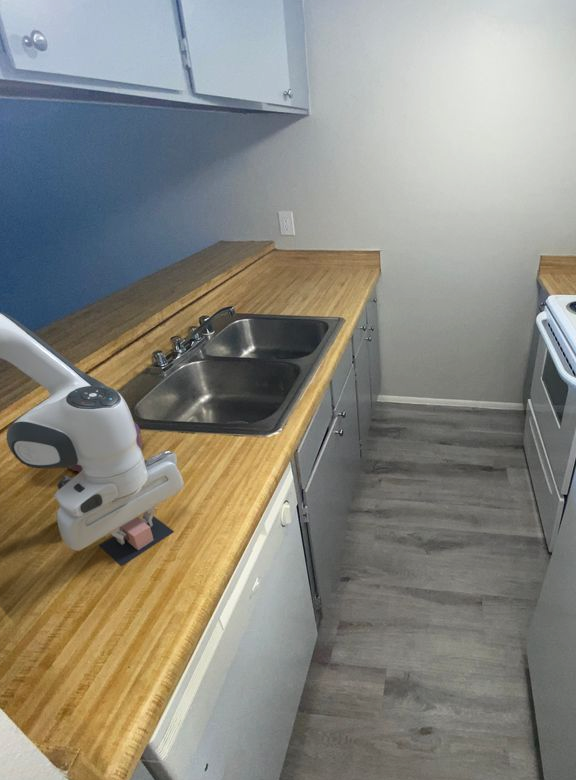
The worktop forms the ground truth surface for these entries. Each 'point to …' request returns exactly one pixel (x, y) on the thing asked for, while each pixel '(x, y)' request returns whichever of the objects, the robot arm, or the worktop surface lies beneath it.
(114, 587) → the worktop surface
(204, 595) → the worktop surface
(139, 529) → the eraser
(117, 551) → the mat
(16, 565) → the worktop surface
